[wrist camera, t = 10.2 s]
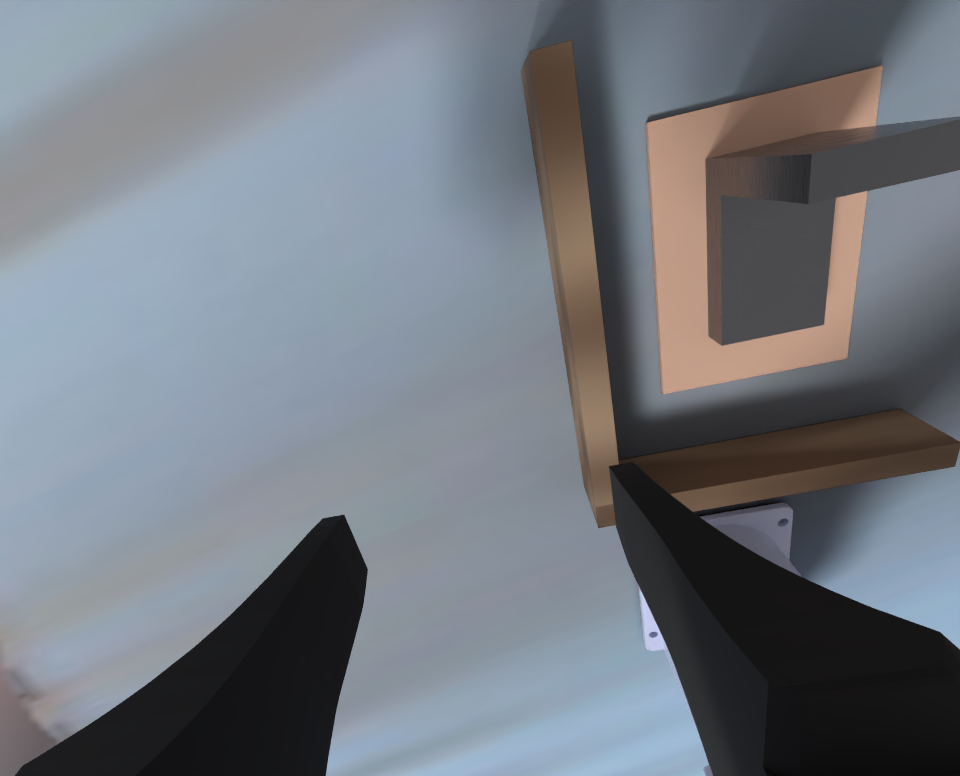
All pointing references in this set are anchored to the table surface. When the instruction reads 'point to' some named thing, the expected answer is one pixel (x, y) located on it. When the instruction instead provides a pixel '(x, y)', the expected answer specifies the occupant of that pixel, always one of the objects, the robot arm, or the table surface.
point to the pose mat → (684, 233)
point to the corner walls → (683, 473)
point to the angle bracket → (799, 217)
